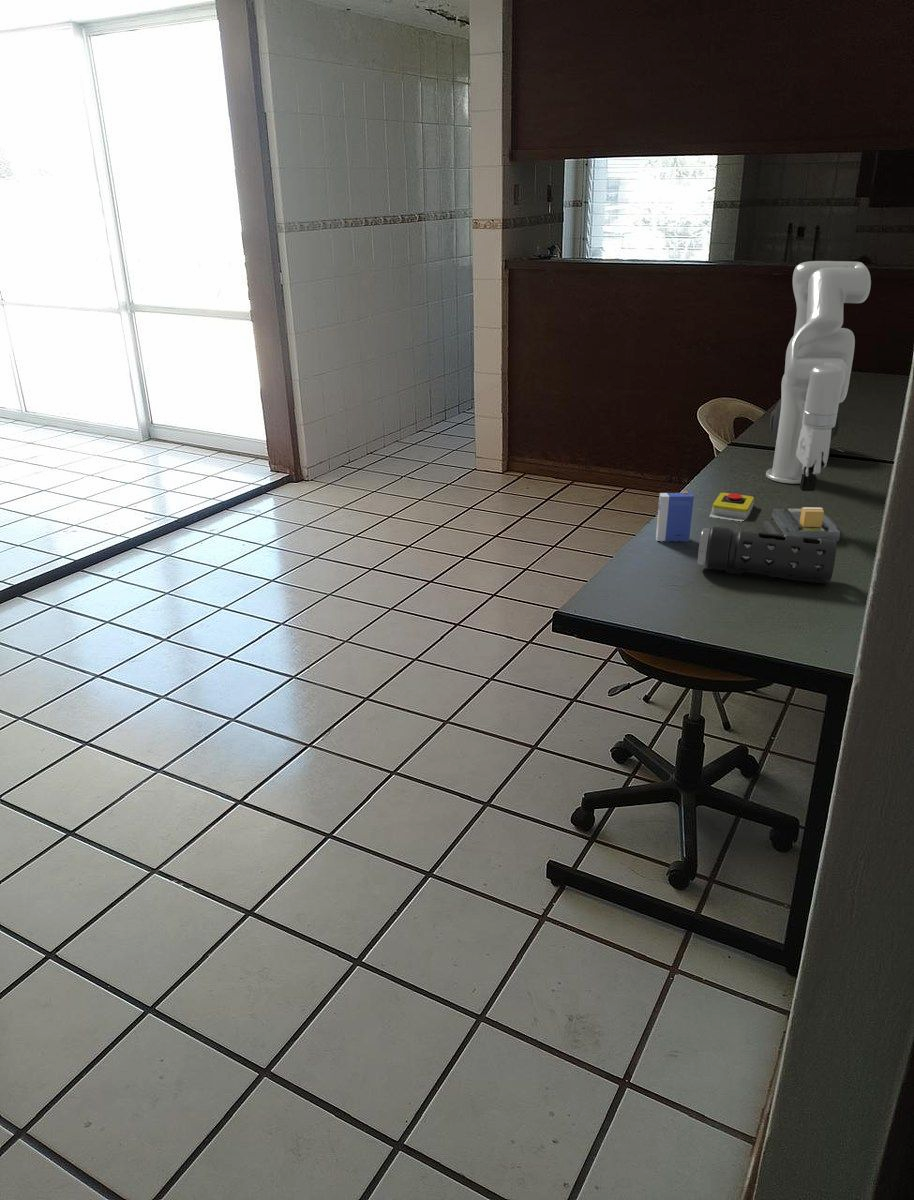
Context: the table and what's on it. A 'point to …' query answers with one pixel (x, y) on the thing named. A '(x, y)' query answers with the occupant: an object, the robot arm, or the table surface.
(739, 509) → the emergency button
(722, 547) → the muzzle brake
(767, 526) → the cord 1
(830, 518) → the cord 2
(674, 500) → the walkman
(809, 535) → the panel
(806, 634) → the table surface
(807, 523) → the cardboard box
